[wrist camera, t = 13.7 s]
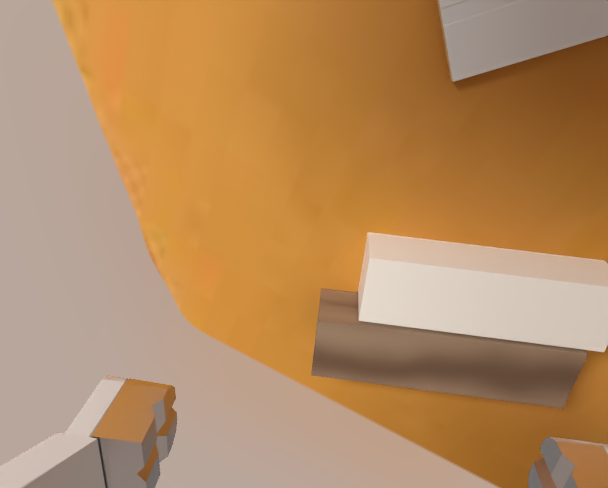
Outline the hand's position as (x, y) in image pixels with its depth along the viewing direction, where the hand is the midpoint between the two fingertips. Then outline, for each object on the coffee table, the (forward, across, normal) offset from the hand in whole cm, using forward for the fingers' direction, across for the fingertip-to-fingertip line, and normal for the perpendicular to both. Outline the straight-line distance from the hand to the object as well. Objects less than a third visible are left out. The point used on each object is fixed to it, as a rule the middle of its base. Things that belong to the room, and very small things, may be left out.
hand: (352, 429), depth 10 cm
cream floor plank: (+30, -12, +12) cm, 34 cm away
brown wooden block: (+29, -10, +18) cm, 36 cm away
